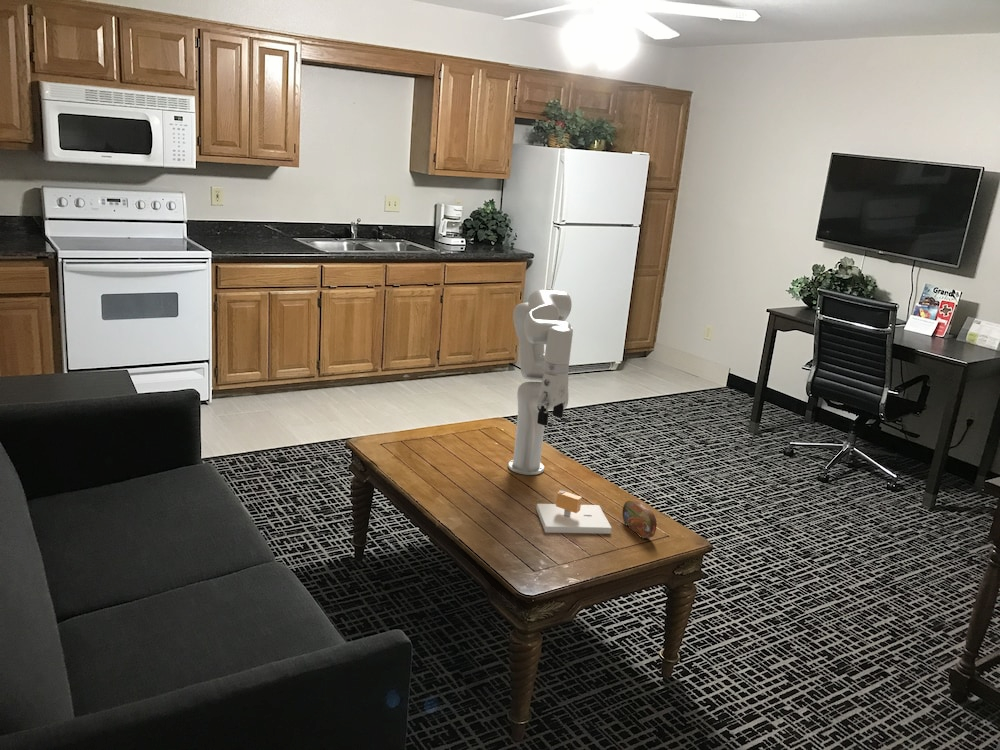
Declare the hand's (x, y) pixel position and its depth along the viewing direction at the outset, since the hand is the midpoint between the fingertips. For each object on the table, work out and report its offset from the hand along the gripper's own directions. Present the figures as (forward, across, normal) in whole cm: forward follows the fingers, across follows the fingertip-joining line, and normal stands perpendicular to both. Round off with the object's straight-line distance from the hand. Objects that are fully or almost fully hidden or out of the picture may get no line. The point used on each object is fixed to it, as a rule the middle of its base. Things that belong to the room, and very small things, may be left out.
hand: (549, 420), depth 247 cm
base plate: (+28, -4, -14) cm, 32 cm away
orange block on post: (+24, -5, -12) cm, 28 cm away
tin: (+29, +4, -32) cm, 43 cm away
